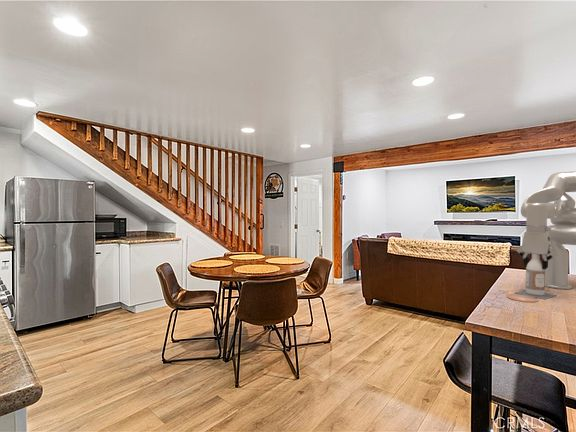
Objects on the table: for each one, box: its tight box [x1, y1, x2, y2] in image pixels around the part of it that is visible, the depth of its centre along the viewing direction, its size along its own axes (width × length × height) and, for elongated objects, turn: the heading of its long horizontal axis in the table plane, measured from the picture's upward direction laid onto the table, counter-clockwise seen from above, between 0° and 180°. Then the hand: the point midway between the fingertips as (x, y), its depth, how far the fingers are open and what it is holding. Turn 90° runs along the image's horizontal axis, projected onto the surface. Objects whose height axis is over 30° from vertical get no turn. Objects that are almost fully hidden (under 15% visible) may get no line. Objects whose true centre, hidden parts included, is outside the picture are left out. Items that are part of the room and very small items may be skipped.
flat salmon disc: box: [506, 293, 539, 303], centre depth 138 cm, size 11×11×1 cm
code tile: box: [514, 289, 557, 300], centre depth 145 cm, size 12×12×1 cm
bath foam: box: [525, 254, 546, 296], centre depth 145 cm, size 7×7×20 cm
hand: (535, 267), depth 145 cm, fingers closed on bath foam, 6 cm apart
